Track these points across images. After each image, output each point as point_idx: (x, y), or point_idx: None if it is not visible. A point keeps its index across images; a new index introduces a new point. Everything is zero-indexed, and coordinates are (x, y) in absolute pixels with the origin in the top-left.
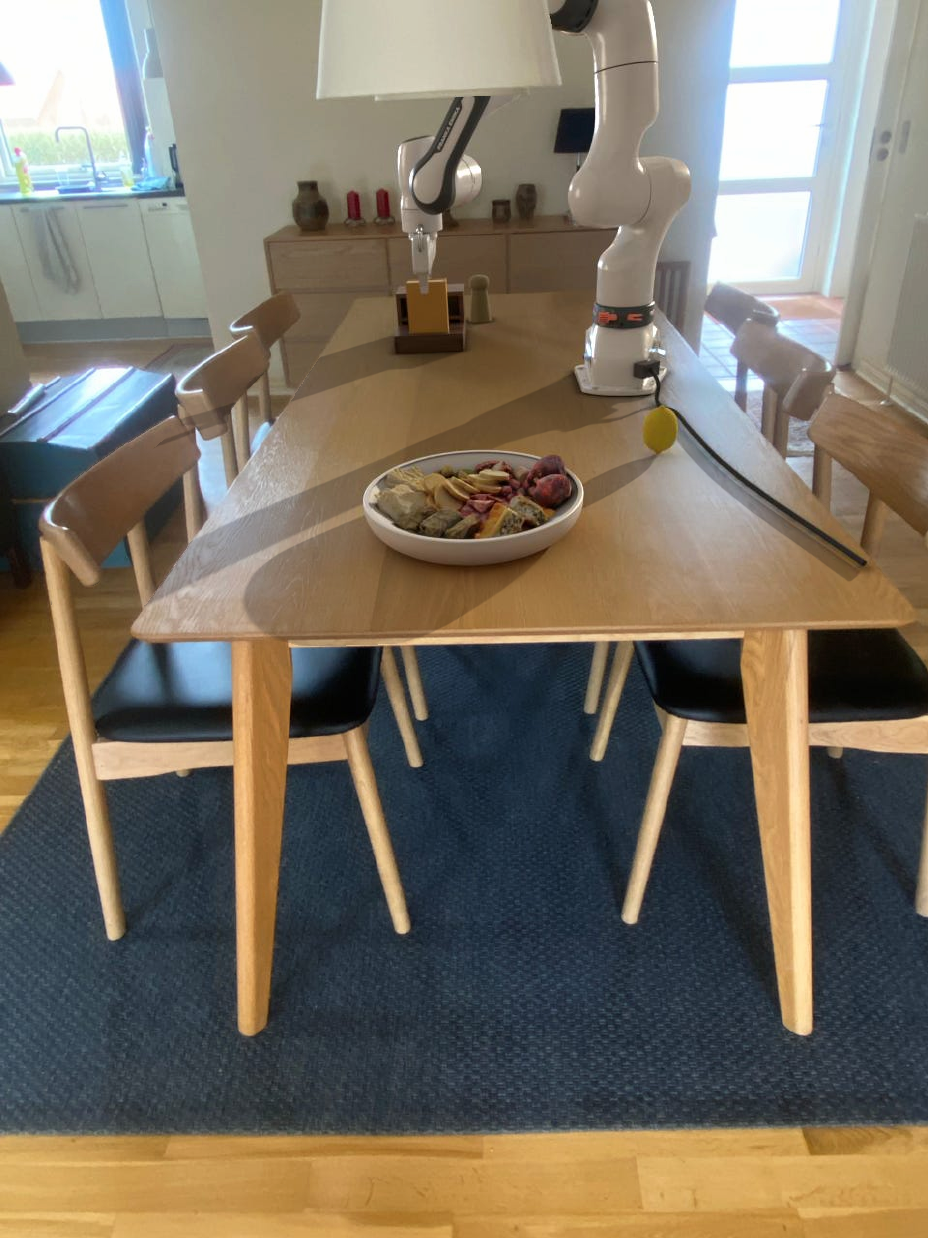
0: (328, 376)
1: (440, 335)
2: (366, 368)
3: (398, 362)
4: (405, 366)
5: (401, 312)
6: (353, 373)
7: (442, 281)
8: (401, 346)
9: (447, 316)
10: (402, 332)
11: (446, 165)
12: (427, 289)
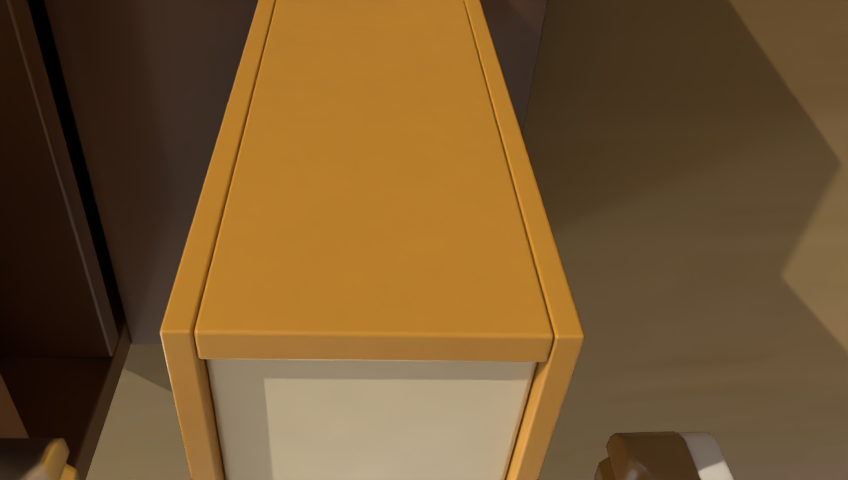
0: (747, 464)
1: (540, 29)
2: (703, 364)
3: (666, 241)
4: (773, 202)
5: (86, 393)
6: (758, 399)
7: (560, 378)
8: None
9: (455, 13)
10: None
11: None
12: (730, 475)
